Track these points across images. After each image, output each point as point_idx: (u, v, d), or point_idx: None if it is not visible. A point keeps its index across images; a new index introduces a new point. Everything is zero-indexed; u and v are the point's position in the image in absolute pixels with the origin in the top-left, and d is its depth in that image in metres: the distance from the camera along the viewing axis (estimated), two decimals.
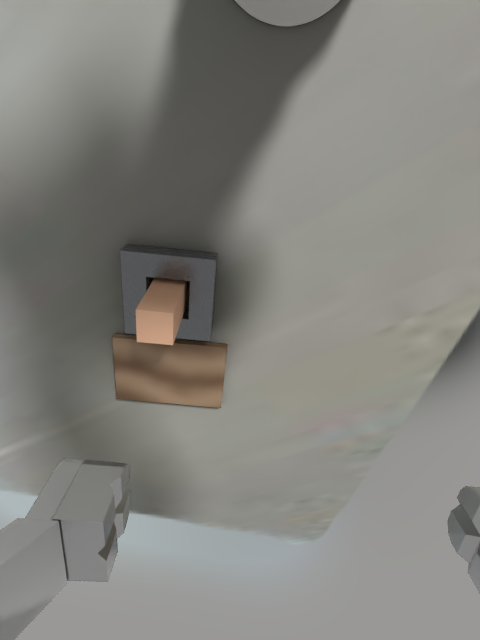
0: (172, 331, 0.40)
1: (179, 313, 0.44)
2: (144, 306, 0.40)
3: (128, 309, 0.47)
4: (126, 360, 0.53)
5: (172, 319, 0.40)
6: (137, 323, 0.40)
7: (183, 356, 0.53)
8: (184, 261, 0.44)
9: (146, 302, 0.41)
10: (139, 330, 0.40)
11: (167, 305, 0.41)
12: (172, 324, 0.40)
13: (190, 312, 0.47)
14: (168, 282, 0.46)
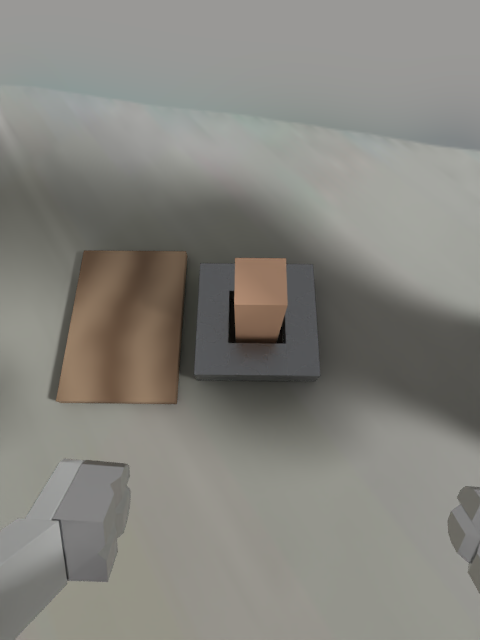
0: (257, 304, 0.28)
1: (256, 324, 0.32)
2: None
3: None
4: (149, 266, 0.39)
5: (277, 304, 0.28)
6: (264, 260, 0.29)
7: (158, 339, 0.36)
8: (311, 336, 0.35)
9: None
10: (254, 261, 0.29)
11: None
12: (269, 304, 0.28)
13: (239, 345, 0.34)
14: None
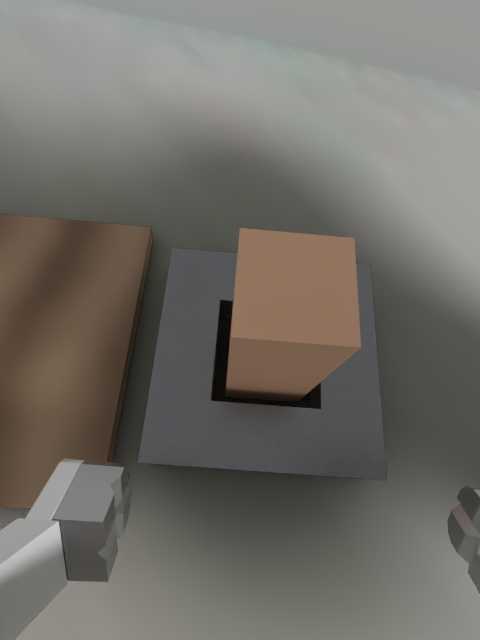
0: (287, 339, 0.11)
1: (272, 374, 0.15)
2: None
3: (234, 263, 0.21)
4: (84, 246, 0.22)
5: (336, 343, 0.11)
6: (307, 238, 0.13)
7: (80, 381, 0.19)
8: (369, 397, 0.18)
9: None
10: (282, 239, 0.13)
11: None
12: (315, 341, 0.11)
13: (232, 406, 0.18)
14: None
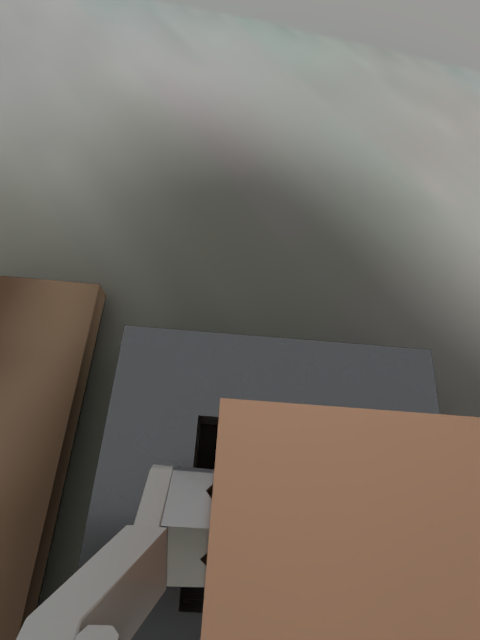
0: None
1: None
2: None
3: (222, 350, 0.13)
4: None
5: None
6: (383, 422, 0.05)
7: None
8: None
9: None
10: (324, 429, 0.05)
11: None
12: None
13: None
14: None
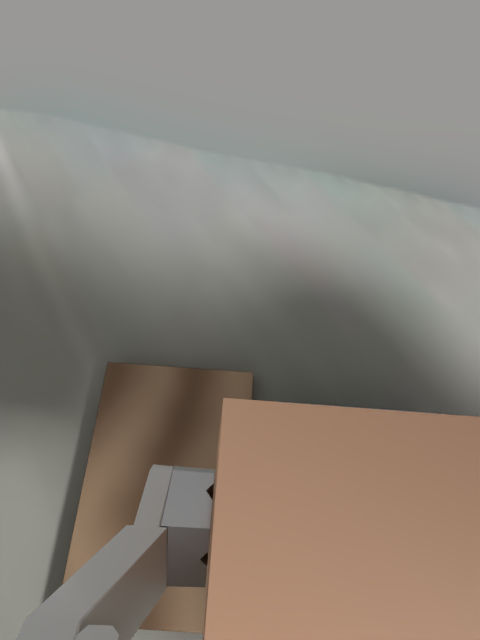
0: None
1: None
2: None
3: None
4: (201, 393, 0.27)
5: None
6: (386, 423, 0.05)
7: None
8: None
9: None
10: (327, 429, 0.05)
11: None
12: None
13: None
14: None
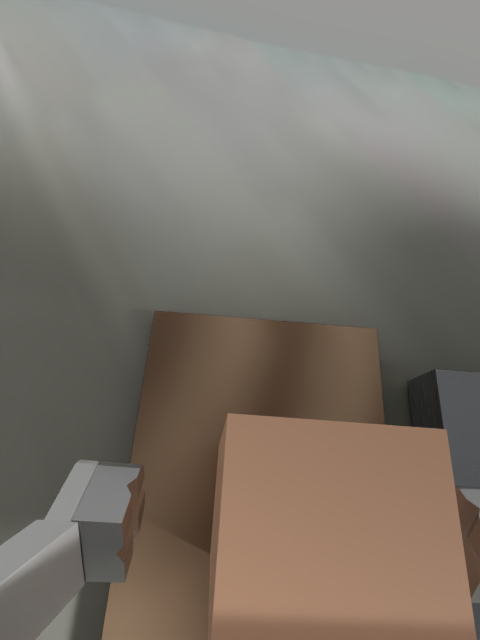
0: None
1: None
2: None
3: None
4: (303, 358, 0.18)
5: None
6: (357, 433, 0.07)
7: None
8: None
9: None
10: (310, 438, 0.07)
11: None
12: None
13: None
14: None
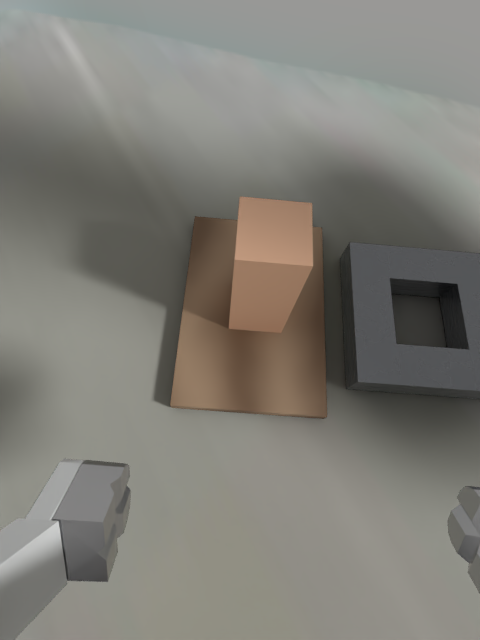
0: (268, 261, 0.19)
1: (261, 297, 0.23)
2: None
3: (394, 252, 0.30)
4: None
5: (298, 263, 0.19)
6: (282, 203, 0.20)
7: (297, 334, 0.28)
8: None
9: None
10: (266, 204, 0.20)
11: None
12: (285, 262, 0.19)
13: (411, 347, 0.27)
14: None
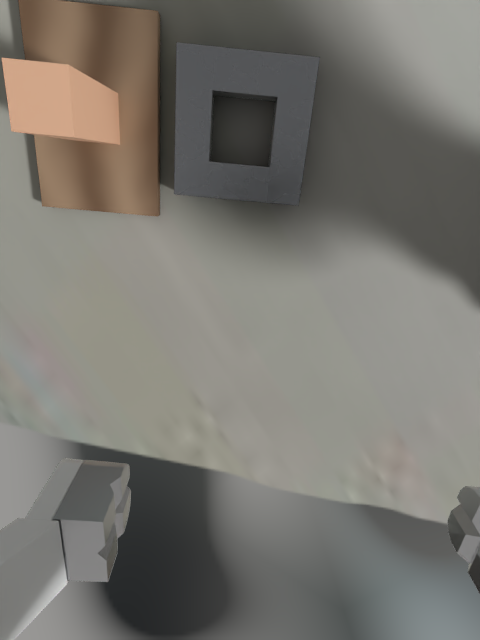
0: (38, 132, 0.24)
1: None
2: (75, 81, 0.24)
3: (221, 57, 0.29)
4: (112, 33, 0.30)
5: (62, 134, 0.24)
6: (41, 65, 0.23)
7: (134, 145, 0.33)
8: (298, 160, 0.32)
9: (81, 83, 0.25)
10: (27, 66, 0.23)
11: (83, 123, 0.25)
12: (52, 133, 0.24)
13: (220, 165, 0.33)
14: (111, 116, 0.31)
